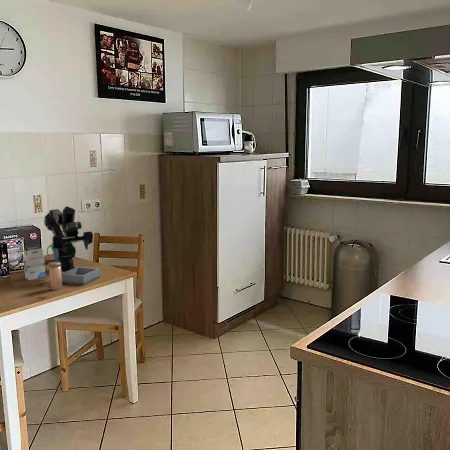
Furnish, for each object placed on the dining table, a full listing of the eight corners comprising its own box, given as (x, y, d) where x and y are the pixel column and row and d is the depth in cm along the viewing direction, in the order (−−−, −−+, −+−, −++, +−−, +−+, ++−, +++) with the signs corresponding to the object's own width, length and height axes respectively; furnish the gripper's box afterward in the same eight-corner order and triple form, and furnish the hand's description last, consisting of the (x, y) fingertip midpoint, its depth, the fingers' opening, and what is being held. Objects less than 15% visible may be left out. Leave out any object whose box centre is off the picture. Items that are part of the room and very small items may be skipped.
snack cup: (46, 264, 249) (44, 246, 247) (49, 259, 259) (47, 241, 258) (75, 262, 253) (74, 244, 251) (77, 257, 263) (76, 240, 261)
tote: (61, 282, 215) (61, 273, 215) (78, 275, 227) (78, 266, 226) (84, 285, 211) (83, 276, 210) (100, 277, 223) (99, 268, 222)
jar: (48, 289, 205) (45, 264, 203) (55, 286, 210) (53, 261, 208) (57, 291, 204) (55, 265, 201) (65, 287, 208) (63, 262, 206)
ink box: (41, 274, 229) (39, 246, 226) (46, 276, 226) (43, 247, 223) (24, 278, 223) (21, 249, 220) (28, 280, 220) (26, 251, 217)
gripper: (49, 219, 216) (57, 240, 206) (89, 215, 225) (98, 234, 215) (49, 237, 222) (56, 258, 212) (87, 232, 231) (96, 252, 221)
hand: (77, 250), depth 215 cm, fingers open, 9 cm apart
